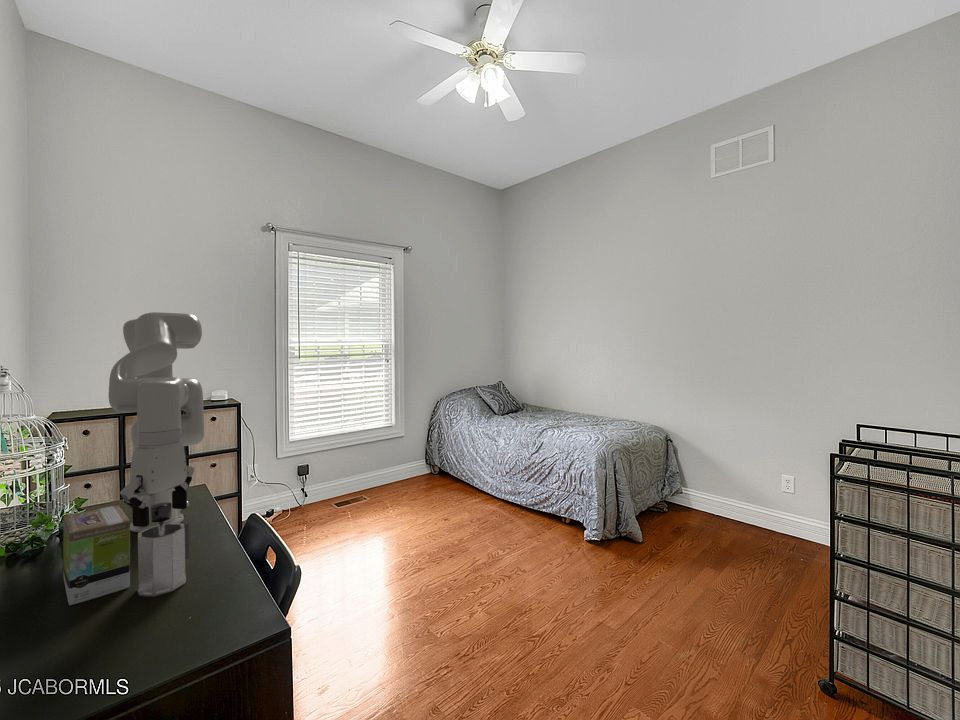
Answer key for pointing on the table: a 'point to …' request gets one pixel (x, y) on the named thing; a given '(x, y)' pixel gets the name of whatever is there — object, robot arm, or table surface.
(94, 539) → the tea box
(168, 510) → the plunger
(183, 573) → the carafe
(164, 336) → the robot arm
